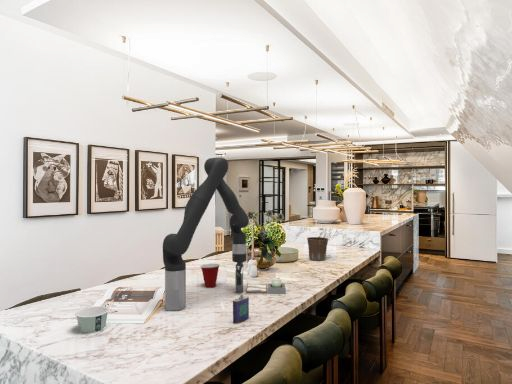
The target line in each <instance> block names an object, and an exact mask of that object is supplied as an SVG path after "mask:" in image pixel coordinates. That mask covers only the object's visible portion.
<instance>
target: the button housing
mask: <svg viewBox="0 0 512 384" xmlns="http://www.w3.org/2000/svg"><path fill="white" fill-rule="evenodd" d="M286 290H287V289H286V284H285V283H281V287H272V282H271V283H267V294H268V295H286Z"/></svg>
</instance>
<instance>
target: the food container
mask: <svg viewBox="0 0 512 384" xmlns="http://www.w3.org/2000/svg"><path fill="white" fill-rule="evenodd" d="M109 311H110V308H109V307H107V306H102V305H101V306H100V305H99V306H88V307H85V308H82V309H81V308H80V309H79V310H77V311H76V312H75V313H74V315H75V316H76V320H77V325H78V326H77V327H78V330H79V332H80V331H81V332H80V333H84V332H90V333H96V332H100V331H102V330H103V328H104V327H105V328H106V325H107V319H108V312H109ZM105 328H104V329H105ZM101 329H102V330H101ZM95 331H96V332H95Z"/></svg>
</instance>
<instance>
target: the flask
mask: <svg viewBox="0 0 512 384" xmlns="http://www.w3.org/2000/svg"><path fill="white" fill-rule="evenodd" d="M249 302H250V297H249V296H248V295H245V294H242V293H239V297H238V298H235V299H233V301H232V324H233V325H237V324H241V323H242V322H243V323H244V322H245V321H247V320H248V319H249V318H250V312H249V311H250V306H249V305H250V303H249Z"/></svg>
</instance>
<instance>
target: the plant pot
mask: <svg viewBox="0 0 512 384" xmlns="http://www.w3.org/2000/svg"><path fill="white" fill-rule="evenodd" d="M306 240H307V245H308V259H309V260H311V261H315V262H316V261H320V262H321V261H322V262H323V261H325V260H326V256H327V248H328V246H327V245H328V243H329V238H327V237H321V236H315V237H314V236H309V237H307V238H306Z"/></svg>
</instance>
